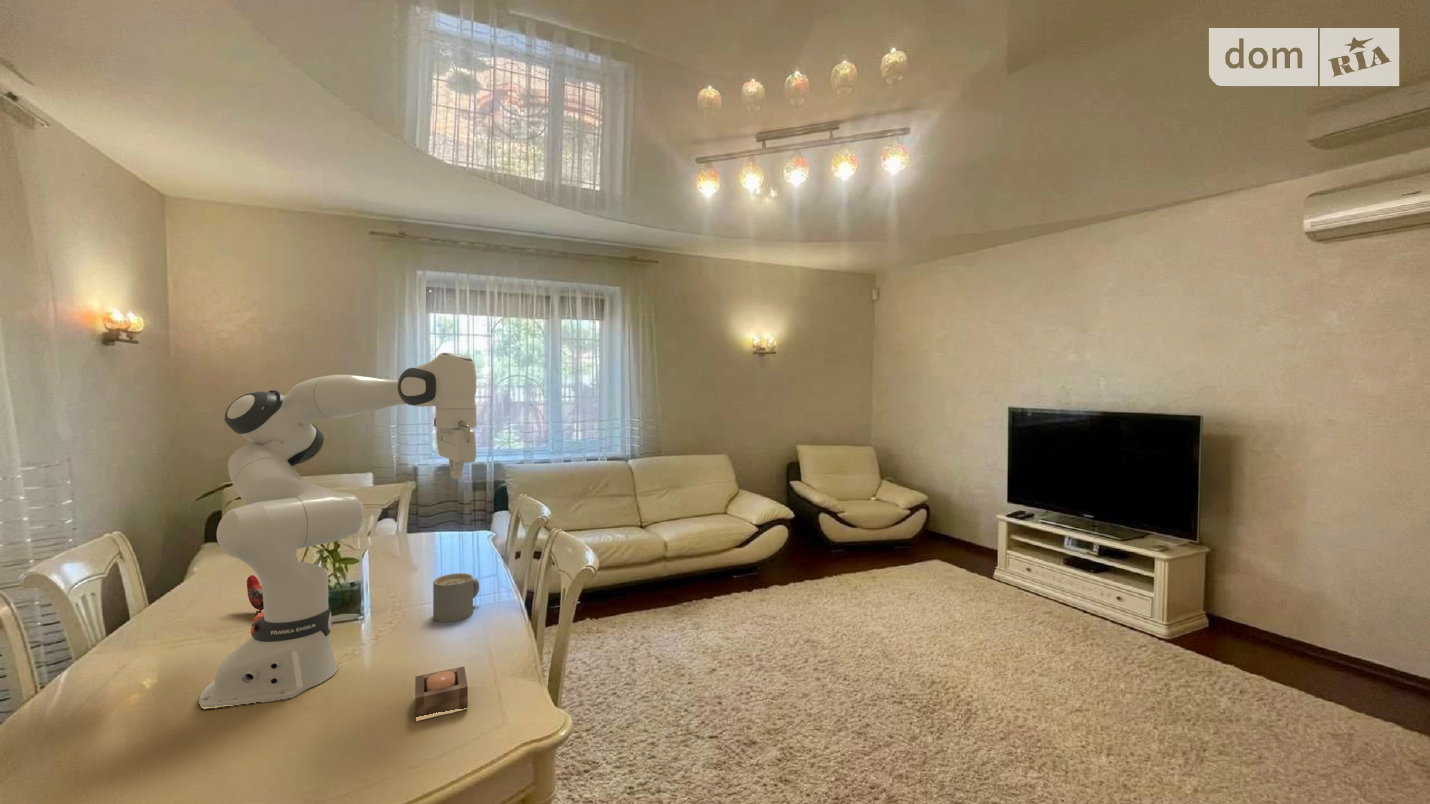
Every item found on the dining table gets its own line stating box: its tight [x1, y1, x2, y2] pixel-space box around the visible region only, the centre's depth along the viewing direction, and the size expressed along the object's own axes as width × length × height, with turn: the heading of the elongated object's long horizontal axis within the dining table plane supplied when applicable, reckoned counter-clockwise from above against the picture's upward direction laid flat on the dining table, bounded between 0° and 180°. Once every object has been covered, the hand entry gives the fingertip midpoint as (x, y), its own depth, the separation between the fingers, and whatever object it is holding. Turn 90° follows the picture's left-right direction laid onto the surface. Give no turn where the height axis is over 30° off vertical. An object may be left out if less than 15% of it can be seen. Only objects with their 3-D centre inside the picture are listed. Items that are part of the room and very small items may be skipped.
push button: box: [427, 670, 455, 692], centre depth 109 cm, size 5×5×4 cm
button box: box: [414, 666, 469, 718], centre depth 109 cm, size 9×9×4 cm
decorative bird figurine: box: [246, 574, 264, 614], centre depth 151 cm, size 3×18×10 cm, turn 59°
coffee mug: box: [432, 572, 480, 623], centre depth 154 cm, size 13×10×10 cm
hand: (456, 478), depth 132 cm, fingers closed
